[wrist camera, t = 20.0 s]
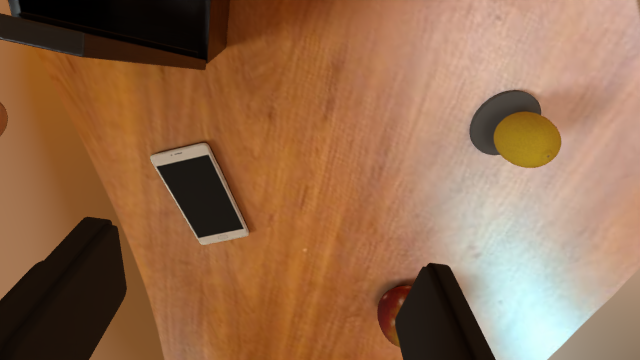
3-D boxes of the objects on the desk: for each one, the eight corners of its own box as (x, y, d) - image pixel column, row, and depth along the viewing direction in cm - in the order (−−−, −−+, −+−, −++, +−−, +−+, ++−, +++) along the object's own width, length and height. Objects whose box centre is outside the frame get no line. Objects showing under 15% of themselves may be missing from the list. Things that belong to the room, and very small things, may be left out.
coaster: (490, 83, 36) (492, 84, 35) (552, 98, 37) (555, 100, 37) (458, 146, 40) (459, 148, 39) (515, 158, 41) (517, 160, 41)
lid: (-515, -104, 8) (-433, 92, 10) (83, 32, 11) (82, 177, 12) (7, 15, 24) (11, 84, 26) (206, 60, 26) (199, 121, 28)
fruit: (373, 279, 52) (382, 323, 45) (428, 273, 52) (447, 317, 45) (374, 315, 57) (383, 360, 51) (425, 310, 57) (441, 355, 50)
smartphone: (200, 246, 46) (147, 156, 38) (201, 243, 47) (149, 154, 39) (250, 236, 45) (206, 142, 38) (250, 233, 46) (207, 140, 38)
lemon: (534, 98, 36) (586, 125, 30) (525, 142, 39) (570, 176, 32) (484, 106, 37) (524, 135, 30) (479, 149, 40) (514, 184, 33)
